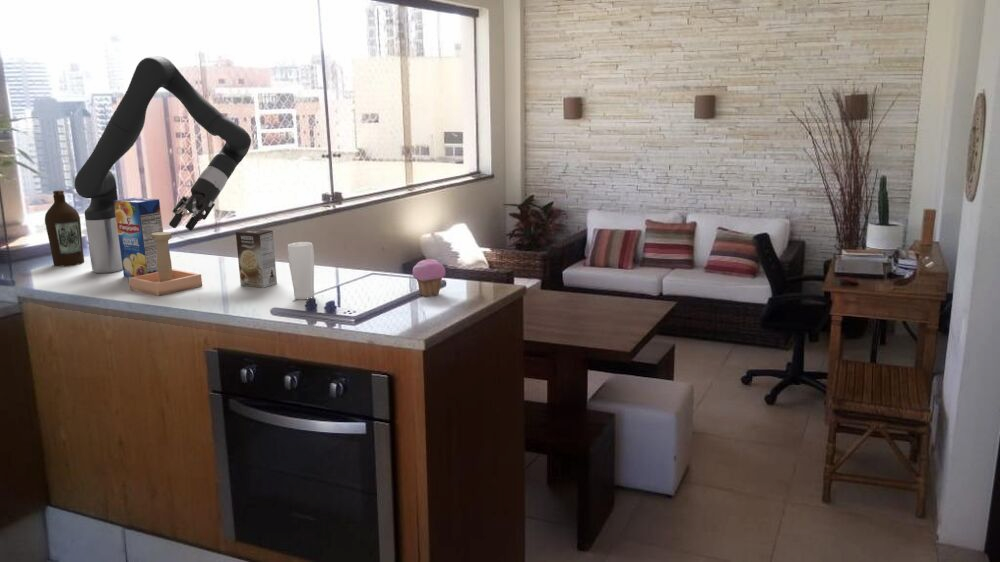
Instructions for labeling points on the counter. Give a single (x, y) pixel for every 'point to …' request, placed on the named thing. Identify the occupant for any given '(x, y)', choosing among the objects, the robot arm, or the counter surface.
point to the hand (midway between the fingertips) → (179, 227)
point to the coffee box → (256, 257)
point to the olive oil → (64, 232)
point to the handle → (163, 255)
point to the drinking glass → (302, 269)
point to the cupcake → (429, 276)
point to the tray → (165, 282)
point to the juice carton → (138, 234)
